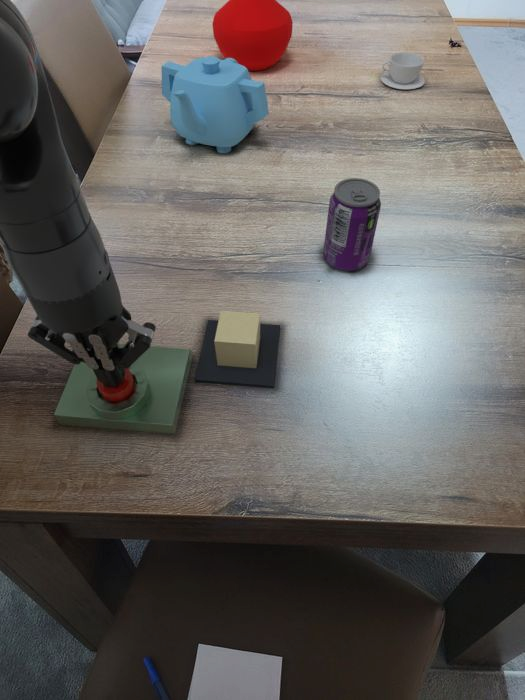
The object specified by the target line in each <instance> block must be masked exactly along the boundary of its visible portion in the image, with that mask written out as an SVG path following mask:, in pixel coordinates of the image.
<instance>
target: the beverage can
mask: <svg viewBox="0 0 525 700" xmlns="http://www.w3.org/2000/svg"><path fill="white" fill-rule="evenodd" d="M380 196H381V190H380V188H379V187H378V185H377V184H375V183H374V182H372V181H370V180H368V179H365V178H359V177H350V178H345V179H342V180H341V181H339V182H337V183H336V185H335V186H334V190H333V192H332V194H331V195H330V198H329V203H328V211H327V218H326V219H327V220H326V227H325V228H326V229H325V234H324V244H323V251H322V254H323V258H324V260H325V262H326V263H327V264H328V265H329V266H331V267H333V268H335V269H338V270H342V271H355V270H359V269H361V268H363V267H365V266H366V265H367V264H368V263H369V261H370V258H371V253H372V249H373V246H374V245H373V244H374V241H375V236H376V231H377V225H378V221H379V218H380V212H381V207H382V202H381V199H380Z"/></svg>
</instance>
